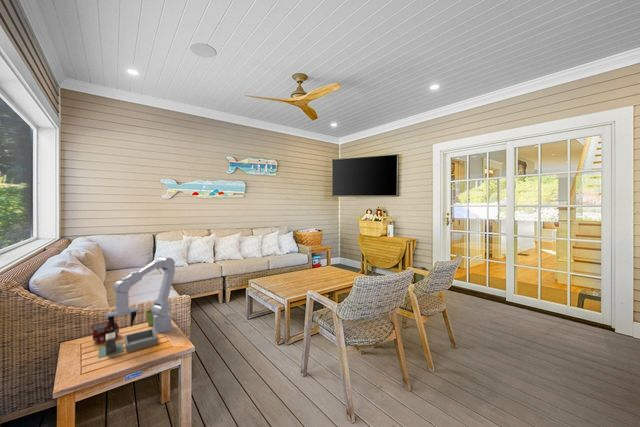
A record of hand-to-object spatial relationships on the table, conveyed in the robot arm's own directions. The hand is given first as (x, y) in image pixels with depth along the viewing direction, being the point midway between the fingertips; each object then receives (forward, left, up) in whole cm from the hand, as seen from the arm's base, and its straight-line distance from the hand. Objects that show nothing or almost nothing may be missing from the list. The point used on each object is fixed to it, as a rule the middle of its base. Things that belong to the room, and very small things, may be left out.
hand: (123, 328), depth 149 cm
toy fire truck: (+7, -14, -10) cm, 18 cm away
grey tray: (-8, +3, -9) cm, 12 cm away
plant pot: (-17, -20, -10) cm, 28 cm away
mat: (+5, +3, -9) cm, 11 cm away
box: (+5, +3, -9) cm, 11 cm away
